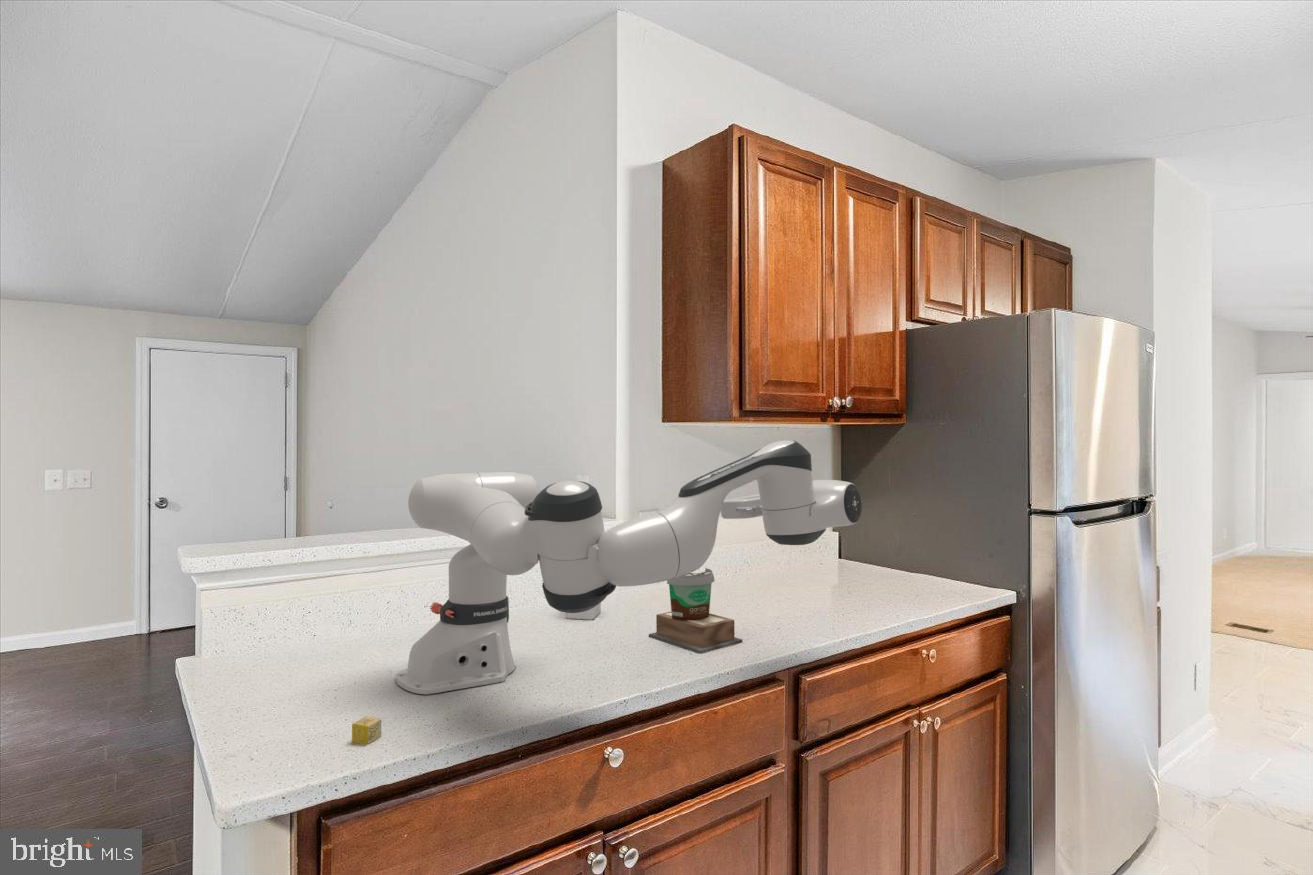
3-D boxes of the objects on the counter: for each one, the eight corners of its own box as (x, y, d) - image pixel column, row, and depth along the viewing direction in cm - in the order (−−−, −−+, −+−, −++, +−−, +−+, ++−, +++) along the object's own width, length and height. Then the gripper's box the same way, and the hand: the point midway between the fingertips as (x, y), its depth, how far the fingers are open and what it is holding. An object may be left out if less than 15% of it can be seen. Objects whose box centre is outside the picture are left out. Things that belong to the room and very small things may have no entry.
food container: (685, 624, 160) (684, 578, 160) (666, 619, 165) (666, 574, 165) (726, 615, 168) (725, 571, 168) (707, 610, 173) (707, 567, 173)
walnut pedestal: (699, 653, 157) (699, 629, 157) (648, 636, 170) (648, 614, 170) (742, 642, 165) (742, 619, 165) (690, 626, 178) (690, 605, 178)
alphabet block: (381, 737, 115) (381, 717, 115) (368, 745, 112) (368, 725, 112) (365, 735, 116) (365, 715, 116) (351, 743, 113) (351, 723, 113)
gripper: (751, 527, 138) (702, 525, 149) (823, 512, 150) (772, 511, 161) (748, 493, 138) (699, 494, 149) (819, 481, 150) (769, 483, 161)
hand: (738, 503), depth 155 cm, fingers open, 8 cm apart
